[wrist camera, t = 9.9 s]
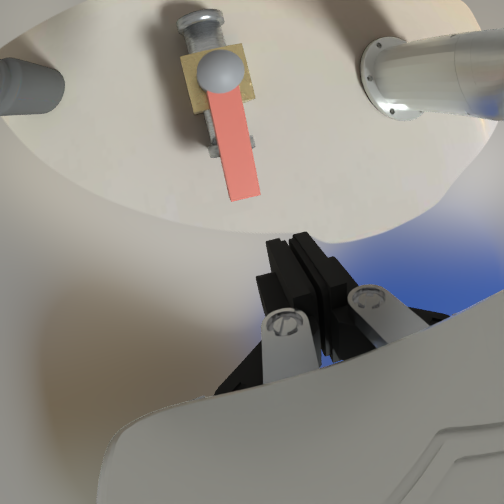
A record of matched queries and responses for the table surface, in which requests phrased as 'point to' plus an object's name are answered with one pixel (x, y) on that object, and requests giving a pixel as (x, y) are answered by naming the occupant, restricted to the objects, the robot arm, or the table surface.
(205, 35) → the valve body
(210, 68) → the lever
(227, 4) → the table surface
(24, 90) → the bottle
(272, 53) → the table surface
